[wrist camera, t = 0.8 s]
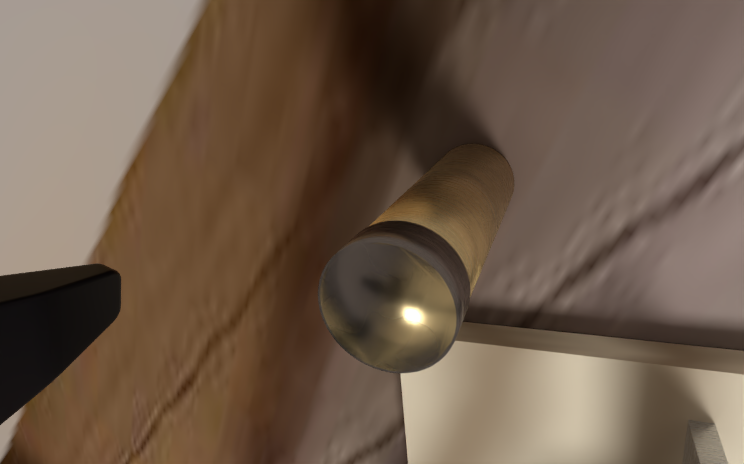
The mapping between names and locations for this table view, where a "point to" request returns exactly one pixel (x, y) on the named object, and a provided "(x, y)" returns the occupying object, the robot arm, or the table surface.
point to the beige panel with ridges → (574, 401)
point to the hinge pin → (418, 264)
